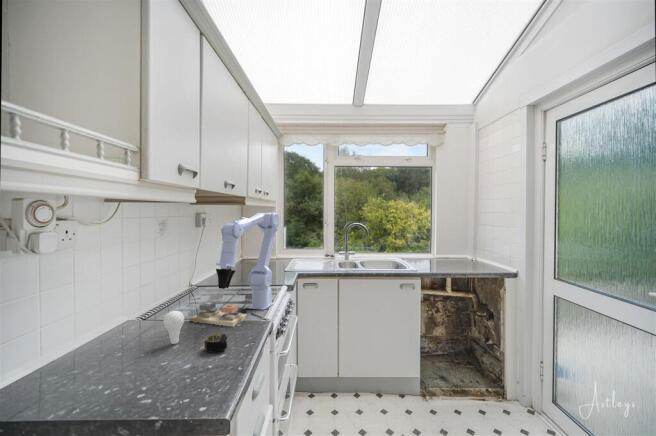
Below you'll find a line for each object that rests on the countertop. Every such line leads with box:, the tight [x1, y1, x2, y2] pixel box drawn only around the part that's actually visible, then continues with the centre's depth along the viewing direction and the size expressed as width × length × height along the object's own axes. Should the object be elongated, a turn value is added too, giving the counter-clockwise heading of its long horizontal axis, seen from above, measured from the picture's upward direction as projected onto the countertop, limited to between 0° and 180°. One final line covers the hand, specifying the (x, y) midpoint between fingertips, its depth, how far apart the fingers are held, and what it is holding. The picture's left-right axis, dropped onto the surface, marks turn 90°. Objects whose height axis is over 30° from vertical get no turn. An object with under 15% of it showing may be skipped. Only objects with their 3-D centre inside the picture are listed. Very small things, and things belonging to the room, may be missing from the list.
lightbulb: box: [163, 310, 185, 345], centre depth 100 cm, size 6×6×11 cm
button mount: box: [189, 309, 248, 328], centre depth 122 cm, size 10×20×2 cm, turn 73°
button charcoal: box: [198, 301, 217, 311], centre depth 124 cm, size 4×4×2 cm
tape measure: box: [203, 333, 228, 353], centre depth 96 cm, size 7×7×4 cm
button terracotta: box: [221, 303, 239, 313], centre depth 120 cm, size 4×4×2 cm
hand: (223, 288), depth 116 cm, fingers open, 7 cm apart
